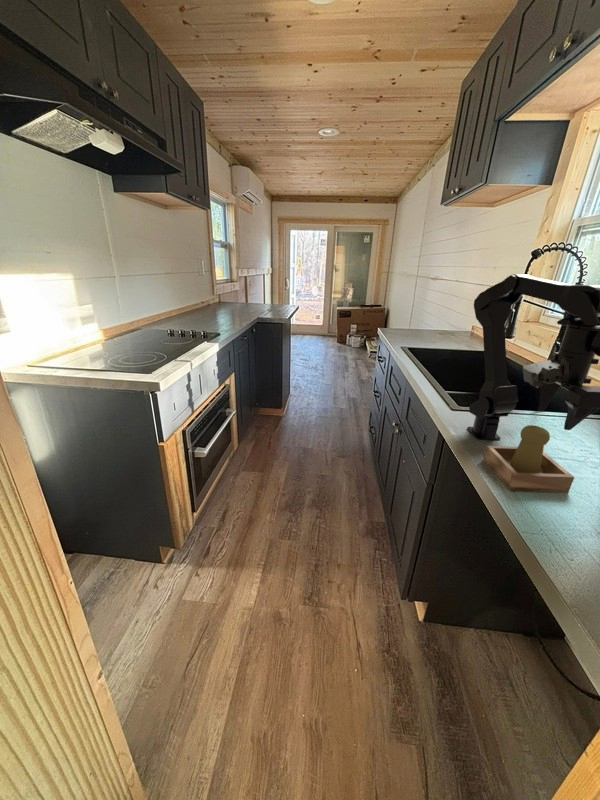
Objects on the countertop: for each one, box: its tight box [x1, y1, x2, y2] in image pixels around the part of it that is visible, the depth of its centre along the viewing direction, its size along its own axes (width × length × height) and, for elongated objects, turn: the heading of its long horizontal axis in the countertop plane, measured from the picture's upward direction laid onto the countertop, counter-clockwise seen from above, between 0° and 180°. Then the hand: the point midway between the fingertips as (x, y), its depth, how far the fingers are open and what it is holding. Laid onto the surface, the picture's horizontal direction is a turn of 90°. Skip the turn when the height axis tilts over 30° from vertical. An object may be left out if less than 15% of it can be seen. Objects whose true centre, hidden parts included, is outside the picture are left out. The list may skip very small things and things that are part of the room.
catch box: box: [482, 445, 575, 494], centre depth 74 cm, size 12×12×4 cm
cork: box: [509, 424, 551, 473], centre depth 72 cm, size 6×6×11 cm
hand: (552, 419), depth 72 cm, fingers open, 9 cm apart
